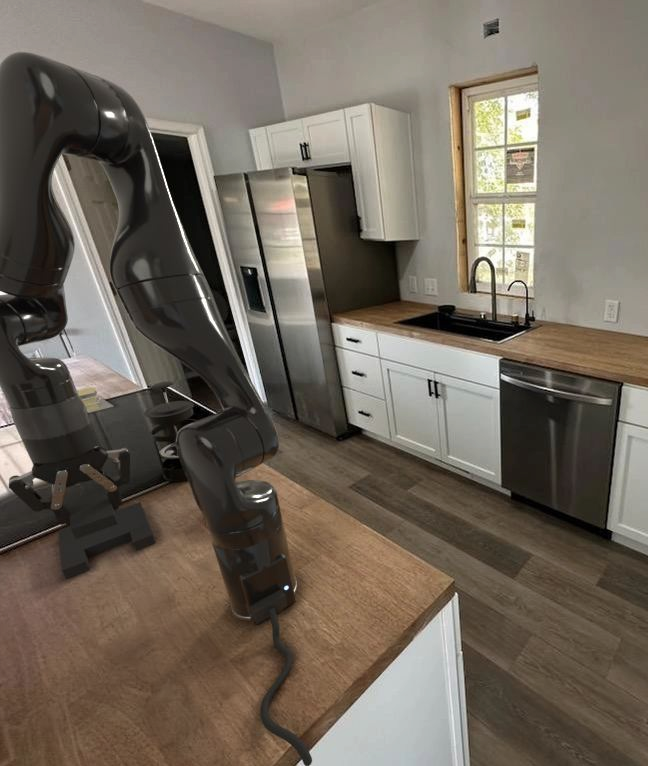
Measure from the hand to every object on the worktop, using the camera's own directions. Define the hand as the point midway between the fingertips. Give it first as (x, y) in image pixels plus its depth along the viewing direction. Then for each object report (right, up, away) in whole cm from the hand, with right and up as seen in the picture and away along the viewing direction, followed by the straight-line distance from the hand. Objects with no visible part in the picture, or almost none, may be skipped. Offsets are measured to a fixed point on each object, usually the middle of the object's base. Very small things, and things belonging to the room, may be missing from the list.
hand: (93, 515), depth 69 cm
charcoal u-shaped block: (-6, -8, +9) cm, 14 cm away
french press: (-8, 0, +31) cm, 32 cm away
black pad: (0, 0, 0) cm, 0 cm away
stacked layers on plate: (-65, +14, +62) cm, 91 cm away
